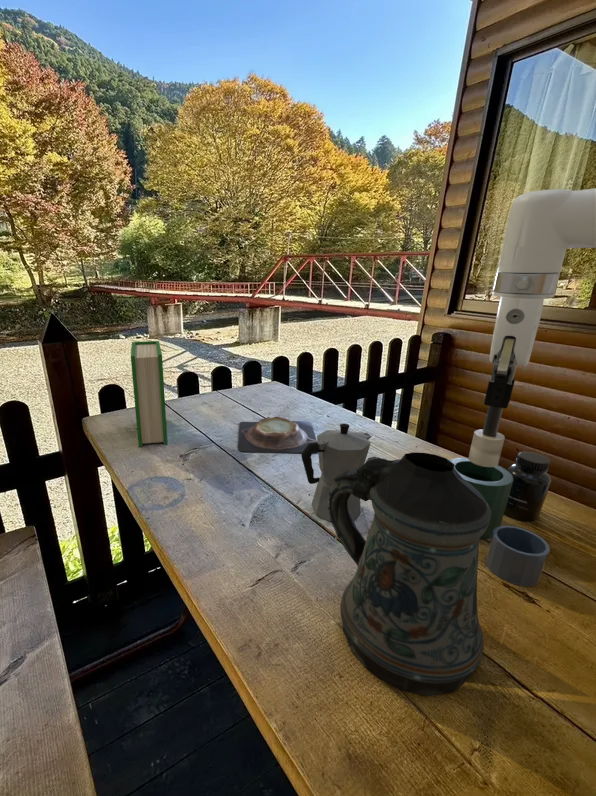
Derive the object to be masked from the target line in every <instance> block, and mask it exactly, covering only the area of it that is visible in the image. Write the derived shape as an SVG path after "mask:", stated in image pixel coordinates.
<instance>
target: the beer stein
mask: <svg viewBox="0 0 596 796" xmlns="http://www.w3.org/2000/svg"><path fill="white" fill-rule="evenodd" d="M449 460H450V459H448V458H446V457H444V456H440V455H439V454H433V453H429V452H408V453H404V455H403V456H402V457H401V458H399V459H392V460H391V459H390V460H389V459H386V458H381V457H378V456H371V457H368V458H367V459H366V460H365V463H364V465H363V466H362V467H360V468H359V469H358V470H352V471H346V472H344V473H342V474H340V475H338V476H337V477H336V478H335V479H334V481H335V482H334V484H333V485H332V487H331V488H330V491H329V494H328V512H329V516H330V520H331V525H332V527H333V530H334V532H335V534H336V537H337V538H338V540H339V541H340V543H341V545H342V547H343V548H344V550H345V551H346V552H347V554H348V555H349V557H350V559H352V560H353V562H354V563H355V564H356V565H357V569H356V571H355V574H354V575H353V578H352V579H351V580H350V581H349V583H348V584H347V586H346V587H345V589H344V591H343V593H342V595H341V601H340V617H341V622H342V632H343V635H344V637H345V639H346V642H347V644H348V647H349V649H350V651H351V653H352V654H353V656H355V658H356V659H357V660H358V661H359V662H360V663H361V665H362V666H363V667H364V668H365V669H366V670H368V671H369V672H370V673H371V674H373V676H375V677H376V678H378V679H380V680H381V681H383V682H385V683H387V684H389V685H391V686H393V687H395V688H397V689H399V690H400V691H403V692H406V693H411V694H415V695H420V696H424V697H434V696H442V695H447V694H453V693H455V692H456V691H457V690H458V689H459V688H460V687H462V686H463V685H464V684H465V683H466V682H467V681H468V680H469V679H471V678H472V675H473V673H474V671H475V670H476V669H477V667H478V666H479V664H480V663H481V661H482V658H483V654H484V648H485V645H484V634H483V630H482V626H481V624H480V621H479V614H478V574H479V573H478V571H479V557H480V556H479V554H480V551H479V550H480V539H479V538H480V537H481V536H482V535H483V534H484V533H485V531H486V529H487V527H488V525H489V524H490V519H491V510H490V507H489V505H488V503H487V502H486V501H485V499H484V497H483V496H482V495H481V494H480V493H479V492H478V491H477V490H476V489H475V488H474V487H473V486H472V485H471V484H469V483H468V482H466V481H465V480H464V479H463V478H462V477H461V476H460V475H459V473H458V472H457V471H456V470H455V469H454V464H453V463H452V462H451V461H449ZM351 494H352V495H354V496H355V497H357V498H360V500H362V501H364V502H368V501H370V502H371V505H372V509H373V512H374V514H373V518H372V521H371V524H370V527H369V530H368V534H367V536H366V539H365V538H364V536H363V534H362V533H361V531H360V530H359V529H358V527H357V525H356V523H355V520H354V521H353V519H352V517H351V514H350V512H349V509H348V499H349V497H350V495H351Z"/></svg>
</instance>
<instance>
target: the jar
mask: <svg viewBox="0 0 596 796" xmlns="http://www.w3.org/2000/svg"><path fill="white" fill-rule="evenodd" d="M448 460H449V461H451V462H452V463H453V464H454V469H455V470H456V471H457V472H458V473H459V475H460V476H461V477H462V478H463V479H464V480H465V481H466V482H468V483H469V484H471V485H472V486H473V487H474V488H475V489H476V490H477V491H478V492H479V493H480V494H481V495H482V496H483V497H484V499H485V501H486V502H487V503H488V505H489V507H490V510H491V519H490V524H489V525H488V527H487V529H486V531H485V533H484V534H483V535H482V536H481V537H480V538H479V540H491V537H492V533H493V530H494V529H495V528H497V527H499V526H502V523H503V522H502V521H503V518H504V516H505V515H504V511H505V508H506V504H507V501H508V497H509V494H510V490H511V486H512V483H513V477H512V475H511V474H510V473H509V472H508V471H507V469H506V468H504V467H503V466H500V465H499V464H498V465H497V466H496V467H483V466H479V465H476V464H474V463H472V462H471V461H470V460H469V457H456V458H452V459H448Z"/></svg>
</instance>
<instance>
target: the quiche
mask: <svg viewBox="0 0 596 796" xmlns="http://www.w3.org/2000/svg"><path fill="white" fill-rule="evenodd" d="M237 439H238V440H237V450H238V451H239V452H245V453H247V452H249V453H283V454H284V453H286V454H287V453H288V454H289V453H301V454H302V452H303V450H304V449H305V448H306V446H307V445H308V444H309V443H314V442H315V441H317V436H316V435H315V431H314V428H313V425H312V423H311V421H307V420H306V421H305V420H304V421H303V420H290V419H287V418H284V417H281V416H274V417H265V418H261V419H260V420H258V421H240V422H239V425H238V437H237Z"/></svg>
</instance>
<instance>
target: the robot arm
mask: <svg viewBox="0 0 596 796" xmlns="http://www.w3.org/2000/svg"><path fill="white" fill-rule="evenodd" d="M504 233H505V234H504V238H503V241H502V247H501V250H500V251H501V252H500V256H499V261H498V266H497V270H496V271H497V272H496V276H495V280H494V285H493V290H492V296H494V297H500V300H499V305H498V309H497V313H496V318H495V322H494V327H493V333H492V340H491V345H490V351H489V357H488V361H489V362H490V363H491V364H493V367H492V373H491V377H490V380H488V384H487V388H486V392H485V397H484V401H483V404H484V406H487V407H489V406H493V407H498V408H503V409H507V408H508V407H509V405H510V402H511V398H512V394H513V389H514V386H515V381H516V379H514V378H515V375H516V371H517V366H518V365H521V368H526V367H528V365H529V364H530V360H531V356H532V352H533V348H534V345H535V341H536V337H537V333H538V329H539V325H540V321H541V318H542V317H541V316H542V313H543V307H544V300H545V299H550V298H551V299H552V298H555V293H556V290H557V286H558V283H559V279H560V275H561V270H562V267H563V264H564V260H565V257H566V252H567V249H596V187H595V188H589V189H588V188H587V189H580V190H572V189H568V188H567V189H564V188H553V189H540V190H533V191H528V192H525V193H522V194H520V195H518V196H517V197H515V198H514V200H513V201H512V203H511V206H510V209H509V215H508V218H507V224H506V228H505V232H504ZM508 377H509V378H508Z"/></svg>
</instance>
